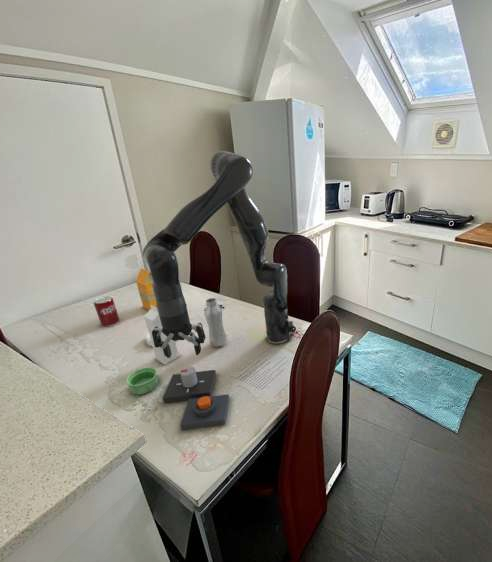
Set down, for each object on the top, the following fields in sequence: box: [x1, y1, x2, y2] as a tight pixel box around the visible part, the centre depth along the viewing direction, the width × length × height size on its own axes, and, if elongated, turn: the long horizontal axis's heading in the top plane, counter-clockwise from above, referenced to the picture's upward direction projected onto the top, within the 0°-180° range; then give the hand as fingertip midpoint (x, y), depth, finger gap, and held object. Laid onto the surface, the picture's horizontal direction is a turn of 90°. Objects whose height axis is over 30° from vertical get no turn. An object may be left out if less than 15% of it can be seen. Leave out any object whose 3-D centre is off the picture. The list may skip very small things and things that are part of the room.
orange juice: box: [135, 268, 157, 311], centre depth 153 cm, size 8×9×20 cm
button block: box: [179, 393, 230, 431], centre depth 93 cm, size 12×10×4 cm
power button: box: [197, 396, 211, 410], centre depth 92 cm, size 4×4×2 cm
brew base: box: [162, 369, 217, 405], centre depth 103 cm, size 14×11×3 cm
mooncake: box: [144, 331, 153, 348], centre depth 130 cm, size 12×12×4 cm
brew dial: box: [179, 365, 197, 388], centre depth 101 cm, size 4×4×5 cm
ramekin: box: [125, 366, 159, 395], centre depth 104 cm, size 9×9×4 cm
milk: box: [143, 305, 180, 365], centre depth 114 cm, size 6×6×22 cm
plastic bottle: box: [203, 297, 228, 347], centre depth 123 cm, size 6×7×20 cm
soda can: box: [93, 296, 120, 328], centre depth 140 cm, size 7×7×12 cm
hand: (183, 355), depth 97 cm, fingers open, 8 cm apart
